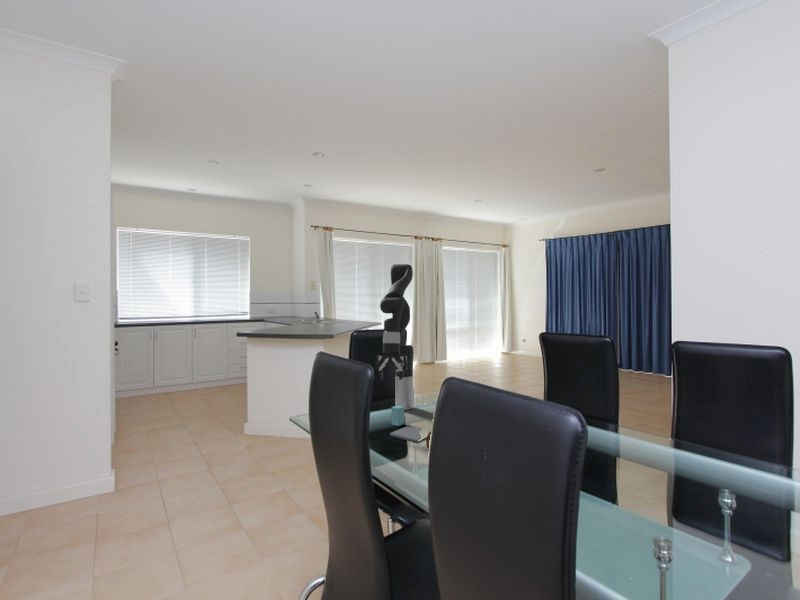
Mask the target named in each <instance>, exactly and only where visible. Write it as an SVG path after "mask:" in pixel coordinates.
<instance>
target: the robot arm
mask: <svg viewBox="0 0 800 600" xmlns="http://www.w3.org/2000/svg"><path fill="white" fill-rule="evenodd" d="M413 274H414V271H413V267H412V265H411V264H408V263H403V264H401V263H399V264H396V263H394V264H392V265H391V268H390V285H391V286H390V288H389V290H388V293H386V294H385V295H384V297H382V299H381V301H380V304H379V309H380V311H381V312H382V313H383V314H391V317H390V318H386V319H384V322H383V336H382V337H383V338H382V355H375V362H374V369H375V370H377V371H378V378H379V380H384V368H385V367H387V366H388V367H389V366H393V367H396V370H395V371H394V372H395V374H394V376H395V379H394V380H395V382H394V383H395V387H394V388H395V390H394V391H395V399H394V400H395V402H394V403H395V405H394V406H397V405H398V406H402V407H404V411H411V410H413V409H414V407H415V390H414V354H415V353H414V347H413V345H412V344H401V337H402V335H403V333H404V332H405V331H406V328H407V326H408V325H409V323H410V322H411V307H410V305H409V303H408V301H407V300H406V298H405V297H404V294H405V291H406V290H407V288H408V287H409V286H410V284H411V282H412V279H413V277H414V275H413ZM381 359H382V361H383V362H382V363H381V365H380V361H381ZM401 363H402V364H403V366H402V364H401ZM412 408H413V409H412ZM410 409H411V410H410Z"/></svg>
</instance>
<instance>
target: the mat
mask: <svg viewBox="0 0 800 600" xmlns="http://www.w3.org/2000/svg"><path fill="white" fill-rule="evenodd" d="M422 428H423V427H420V426H415V425H412V424H409V425H406V426H404V427H401V428H399V429H397V430H394V431H392V432H390V433H389V436H391V437H394V438H398V439H402V440H406V441H408V442H412V441H418V440H419V439H421V435H420V434H419V431H421V429H422Z"/></svg>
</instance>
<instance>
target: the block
mask: <svg viewBox="0 0 800 600" xmlns="http://www.w3.org/2000/svg"><path fill="white" fill-rule="evenodd" d="M404 415H405V410H404V407H402V406H398V405H397V406H395V405H394V406H391V425H392V426H396V427H400V426H402V425H404V424H405V416H404Z"/></svg>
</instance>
